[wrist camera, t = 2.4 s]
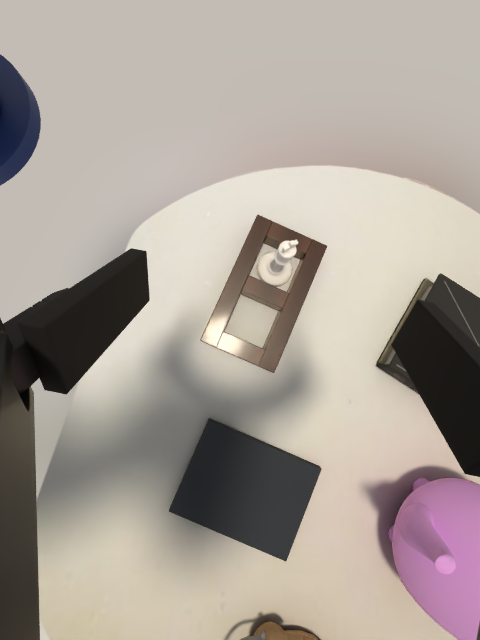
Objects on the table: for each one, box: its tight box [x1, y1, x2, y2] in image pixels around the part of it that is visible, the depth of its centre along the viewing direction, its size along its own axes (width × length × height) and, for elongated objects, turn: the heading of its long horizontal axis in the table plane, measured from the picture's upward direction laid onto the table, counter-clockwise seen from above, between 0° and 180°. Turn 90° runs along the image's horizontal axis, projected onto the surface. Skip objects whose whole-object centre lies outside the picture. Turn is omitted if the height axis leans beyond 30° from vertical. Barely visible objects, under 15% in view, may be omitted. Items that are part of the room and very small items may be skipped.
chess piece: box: [257, 239, 298, 287], centre depth 32 cm, size 5×5×10 cm
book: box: [377, 274, 480, 391], centre depth 36 cm, size 22×15×3 cm
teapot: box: [389, 478, 480, 640], centre depth 28 cm, size 22×16×14 cm
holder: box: [201, 215, 327, 373], centre depth 35 cm, size 10×18×2 cm, turn 156°
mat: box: [169, 418, 321, 561], centre depth 34 cm, size 16×12×1 cm
